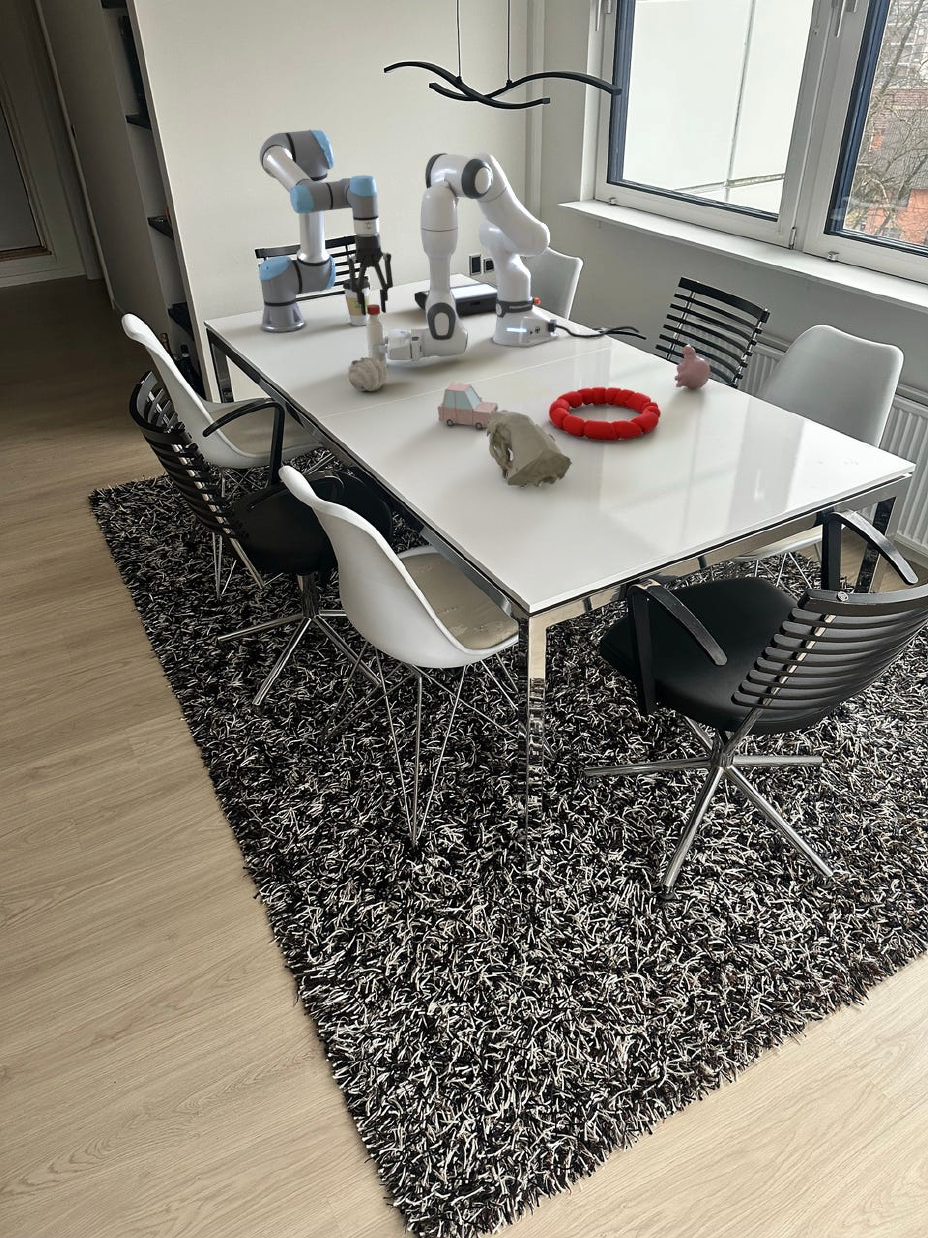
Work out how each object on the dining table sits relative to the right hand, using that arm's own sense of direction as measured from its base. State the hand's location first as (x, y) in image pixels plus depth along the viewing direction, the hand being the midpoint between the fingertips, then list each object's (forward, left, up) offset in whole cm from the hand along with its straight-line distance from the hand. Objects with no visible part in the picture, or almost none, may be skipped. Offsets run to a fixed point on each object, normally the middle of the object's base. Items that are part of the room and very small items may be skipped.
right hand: (373, 344), depth 284 cm
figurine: (-72, +69, -7) cm, 100 cm away
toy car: (-3, +58, -7) cm, 59 cm away
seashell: (+10, +20, -7) cm, 23 cm away
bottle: (-1, 0, -7) cm, 7 cm away
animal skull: (-1, +92, -7) cm, 92 cm away
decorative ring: (-36, +77, -7) cm, 85 cm away
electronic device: (-54, -43, -7) cm, 69 cm away
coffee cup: (-13, -47, -7) cm, 49 cm away
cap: (-1, 0, +12) cm, 12 cm away
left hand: (-1, 0, +10) cm, 10 cm away
